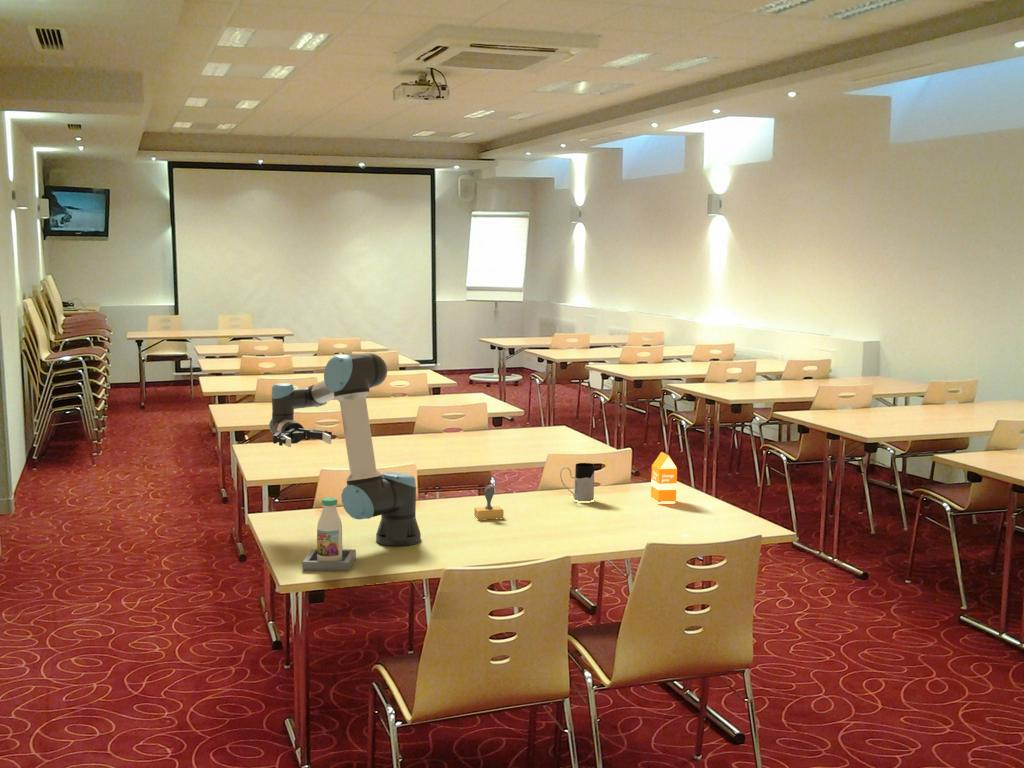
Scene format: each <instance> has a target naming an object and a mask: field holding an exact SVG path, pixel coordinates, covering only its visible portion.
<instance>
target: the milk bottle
mask: <svg viewBox="0 0 1024 768" xmlns="http://www.w3.org/2000/svg"><path fill="white" fill-rule="evenodd" d="M321 504H322V505H321V507H322V511H321V513H320V516H319V519H318V521H317V526H316V527H317V528H316V549H317V561H342V549H343V525H342V521H341V520H342V519H341V517H340V515H339V512H338V510H337V509H338V508H337V507H338V498H335V497H324V498H322V499H321Z"/></svg>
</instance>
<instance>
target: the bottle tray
mask: <svg viewBox="0 0 1024 768" xmlns="http://www.w3.org/2000/svg"><path fill="white" fill-rule="evenodd" d="M356 558H357V550H356V549H353V548H352V549H349V548H345V549H344V548H342V561H317V548H311V550H310V551H309V552H308V554H307V555H306V557H305V558H304V559H303V561H302V562H301V563H302V565H301V566H302V568H301V569H302V571H303V570H304V571H303V572H337V571H350V570H351V568H352V567H353V564H354V563H353V562H355V561H356ZM349 569H350V570H349Z"/></svg>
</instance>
